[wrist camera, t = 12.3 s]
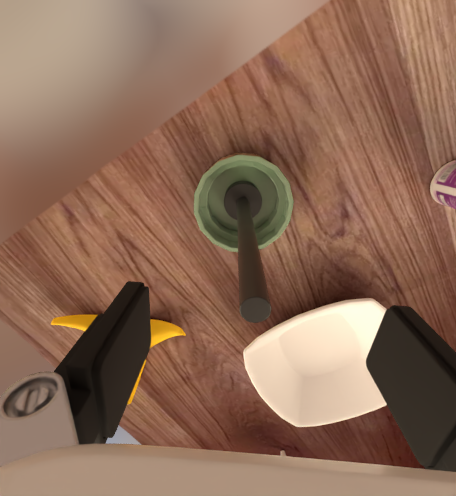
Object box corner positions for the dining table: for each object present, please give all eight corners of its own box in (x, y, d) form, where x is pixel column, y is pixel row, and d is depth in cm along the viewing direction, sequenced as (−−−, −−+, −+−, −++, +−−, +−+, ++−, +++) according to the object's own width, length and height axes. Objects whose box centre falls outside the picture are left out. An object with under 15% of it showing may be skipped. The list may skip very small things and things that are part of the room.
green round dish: (201, 148, 30) (195, 150, 26) (292, 156, 30) (301, 160, 26) (197, 234, 34) (192, 248, 30) (277, 241, 34) (283, 256, 30)
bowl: (364, 260, 35) (384, 280, 30) (407, 365, 42) (429, 394, 37) (225, 322, 40) (223, 348, 35) (285, 406, 47) (290, 437, 42)
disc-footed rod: (225, 178, 31) (208, 261, 11) (262, 182, 31) (315, 270, 11) (223, 214, 32) (203, 344, 12) (258, 217, 33) (295, 352, 12)
